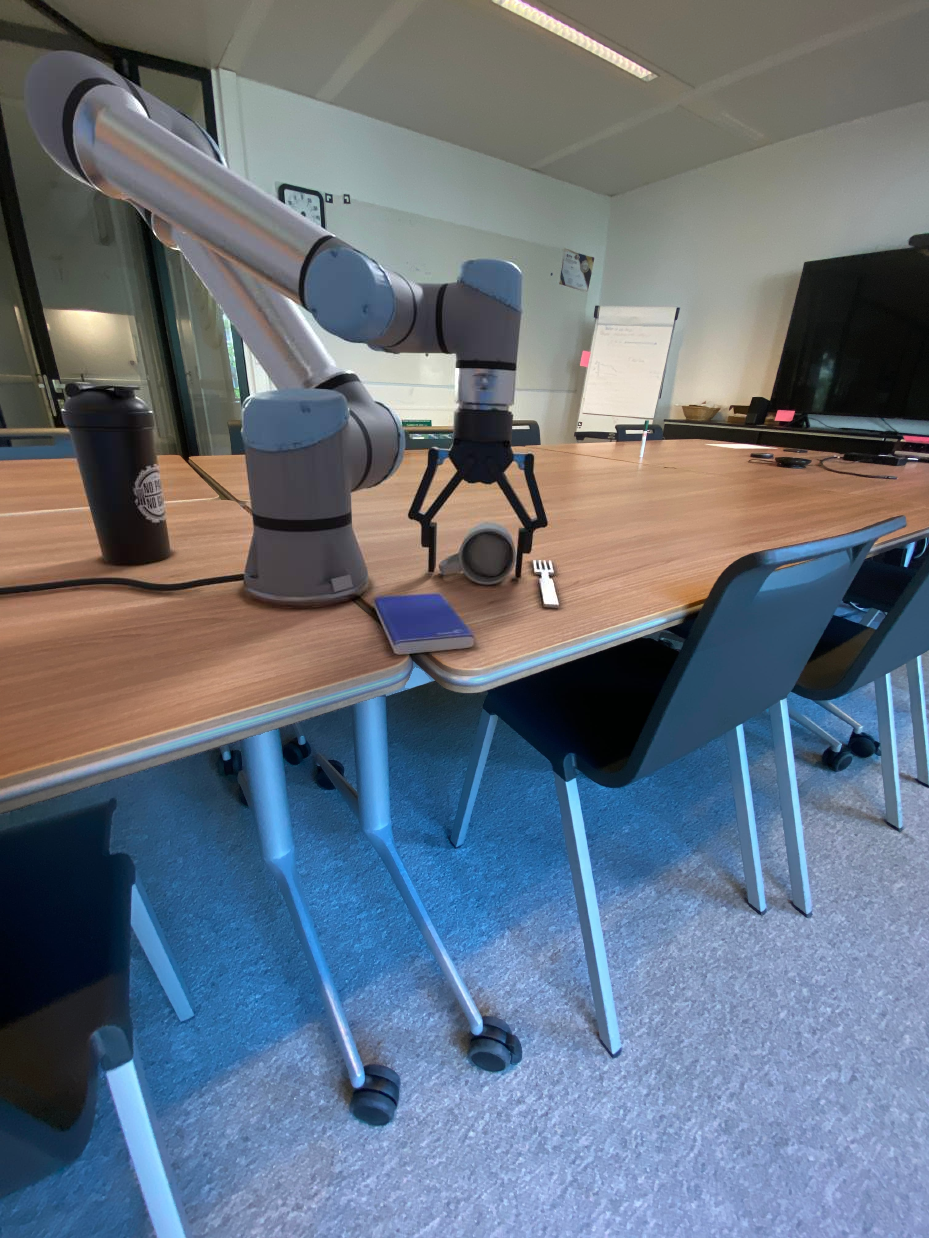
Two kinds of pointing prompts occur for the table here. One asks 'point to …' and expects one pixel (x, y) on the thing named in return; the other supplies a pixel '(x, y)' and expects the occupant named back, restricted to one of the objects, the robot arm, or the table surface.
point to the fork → (546, 584)
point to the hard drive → (421, 624)
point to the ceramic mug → (483, 555)
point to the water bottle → (118, 471)
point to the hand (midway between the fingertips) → (474, 572)
